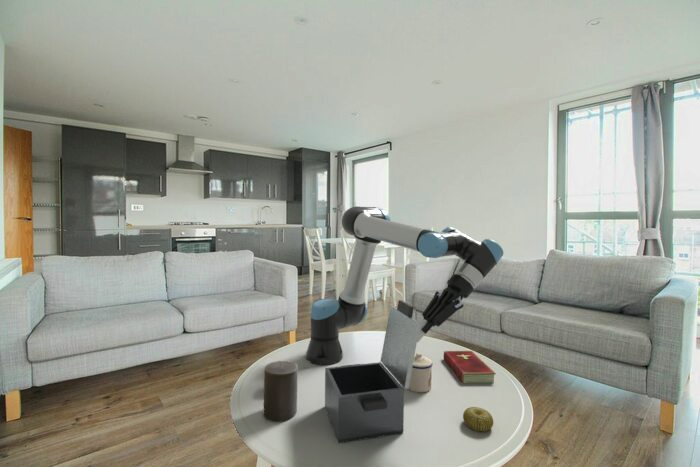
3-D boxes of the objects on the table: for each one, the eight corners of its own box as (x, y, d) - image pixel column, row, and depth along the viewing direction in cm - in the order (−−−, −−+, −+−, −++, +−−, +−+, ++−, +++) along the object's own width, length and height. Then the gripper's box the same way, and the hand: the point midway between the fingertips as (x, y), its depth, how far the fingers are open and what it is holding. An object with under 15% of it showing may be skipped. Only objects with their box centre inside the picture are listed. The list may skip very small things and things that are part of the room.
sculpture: (469, 420, 91) (459, 404, 99) (468, 434, 92) (458, 417, 100) (498, 420, 92) (486, 404, 100) (498, 434, 92) (485, 417, 100)
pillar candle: (268, 425, 94) (269, 372, 94) (260, 408, 103) (261, 359, 102) (301, 417, 99) (302, 366, 98) (291, 401, 107) (292, 354, 107)
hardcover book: (462, 384, 121) (462, 372, 121) (443, 360, 142) (443, 350, 141) (495, 384, 121) (495, 372, 121) (471, 360, 142) (471, 350, 142)
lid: (392, 296, 109) (395, 296, 109) (380, 361, 109) (383, 361, 109) (418, 311, 91) (422, 311, 92) (404, 388, 91) (408, 388, 91)
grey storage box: (323, 401, 107) (323, 363, 107) (376, 394, 112) (377, 358, 112) (341, 451, 84) (341, 403, 84) (408, 439, 89) (408, 394, 88)
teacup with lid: (435, 393, 113) (435, 358, 113) (407, 393, 113) (408, 358, 113) (426, 376, 125) (427, 345, 125) (401, 376, 125) (402, 345, 125)
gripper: (485, 293, 100) (432, 355, 96) (459, 285, 112) (412, 339, 108) (469, 276, 98) (415, 338, 94) (445, 269, 111) (397, 324, 107)
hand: (413, 338), depth 101 cm, fingers closed
